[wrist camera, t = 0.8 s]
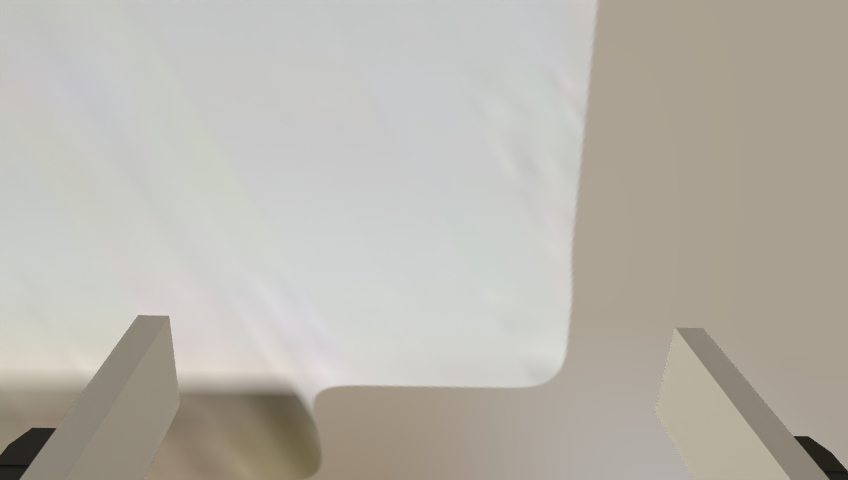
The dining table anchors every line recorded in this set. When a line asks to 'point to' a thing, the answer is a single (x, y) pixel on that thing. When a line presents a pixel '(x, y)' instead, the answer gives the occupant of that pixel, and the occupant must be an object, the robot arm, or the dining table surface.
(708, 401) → the robot arm
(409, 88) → the dining table surface
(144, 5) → the dining table surface
